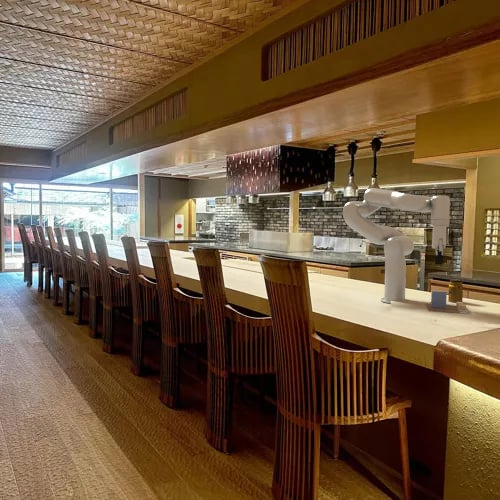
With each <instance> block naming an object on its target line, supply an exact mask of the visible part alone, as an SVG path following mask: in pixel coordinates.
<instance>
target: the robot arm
mask: <svg viewBox="0 0 500 500" xmlns="http://www.w3.org/2000/svg"><path fill="white" fill-rule="evenodd" d="M450 201H451V198H450V196H448V195H433V196H427V195H417V194H410V193H403V192H399V191H397V190H390V189H385V188H377V187H376V188H375V187H371V188H368V189H366V190H365V192H364V194H363V201H360V200H358V201H356V200H355V201H354V200H351V201H348V202H347V203H345V204H344V206H343V207H342V208H343V209H342V217H343V220H344V222H345V223H346V225H347V226H348V227H349V228H350V229H351V230H353V231H354V232H356V233H358V234H359V235H361V236H362V237H364V238H365V239H367V240H368V241H369V242H371V243H373V244H374V245H379V246H380V245H381V246H382V245H383V254H384V295H383V296H384V297H381V298H380V301H381V302H382V303H387V304H391V301H394V302H399V301H400V302H402V301H403V302H404V301H406V281H407V280H406V279H407V278H406V277H407V276H406V275H407V265H406V264H407V263H406V257H405V256H408V255H410V254H411V253H412V252H414V249H415V243H414V241H413V239H412V238H410V237H409V236H408V235H406V234H405V233H402V232H401V231H399V230H398V229H396V228H394V227H391V226H389V225H380V224H377V223H376V222H373V221H372V220H370V219H368V218H367V217H370V216H371V215H372V214H374V213H375V212H376V211H378V210H379V209H381V208H387V209H393V210H396V209H397V210H403V211H408V212H412V213H413V212H414V213H422V214H423V213H425V214H426V213H430V227H432V233H431V234H432V236H431V248H432V249H434V251H435V253H434V254H435V255H434V264H435V265H443V264H444V249H446V246H447V245H446V244H447V228H448V227H449V228H450V209H451V208H450V207H451V205H450V204H451V203H450Z"/></svg>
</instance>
